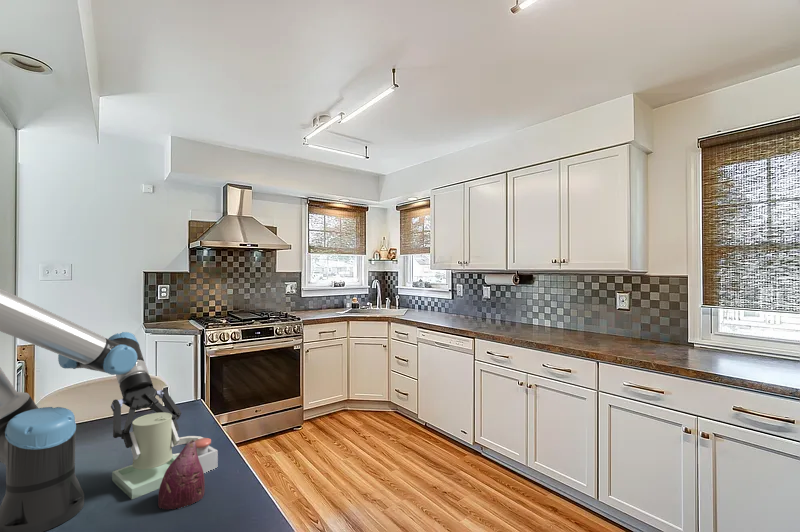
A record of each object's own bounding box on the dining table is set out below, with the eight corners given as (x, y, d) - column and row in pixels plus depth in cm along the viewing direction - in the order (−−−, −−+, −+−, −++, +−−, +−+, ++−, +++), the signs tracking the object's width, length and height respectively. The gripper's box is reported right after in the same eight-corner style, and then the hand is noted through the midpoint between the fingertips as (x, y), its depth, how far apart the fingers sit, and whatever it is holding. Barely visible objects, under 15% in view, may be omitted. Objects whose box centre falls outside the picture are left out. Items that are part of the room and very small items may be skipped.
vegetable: (192, 495, 103) (204, 434, 107) (210, 505, 96) (222, 439, 101) (148, 503, 95) (162, 436, 99) (165, 514, 89) (179, 442, 93)
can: (158, 470, 101) (158, 423, 101) (123, 469, 101) (123, 423, 101) (179, 452, 110) (179, 410, 110) (147, 452, 110) (147, 410, 110)
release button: (197, 469, 107) (197, 446, 107) (189, 464, 110) (189, 442, 110) (214, 462, 110) (214, 440, 111) (206, 458, 113) (206, 436, 113)
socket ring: (167, 466, 111) (167, 460, 111) (148, 453, 120) (148, 447, 120) (214, 449, 122) (214, 443, 122) (193, 437, 130) (193, 432, 130)
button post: (196, 477, 106) (196, 458, 106) (185, 470, 109) (186, 452, 109) (217, 468, 111) (217, 450, 111) (207, 461, 114) (207, 444, 114)
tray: (132, 499, 95) (132, 489, 95) (112, 480, 104) (112, 471, 104) (190, 475, 107) (190, 466, 107) (168, 460, 115) (168, 451, 115)
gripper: (91, 381, 103) (112, 459, 93) (177, 364, 120) (203, 428, 111) (85, 397, 106) (105, 473, 97) (170, 378, 123) (194, 442, 114)
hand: (157, 449), depth 104 cm, fingers closed on can, 9 cm apart
